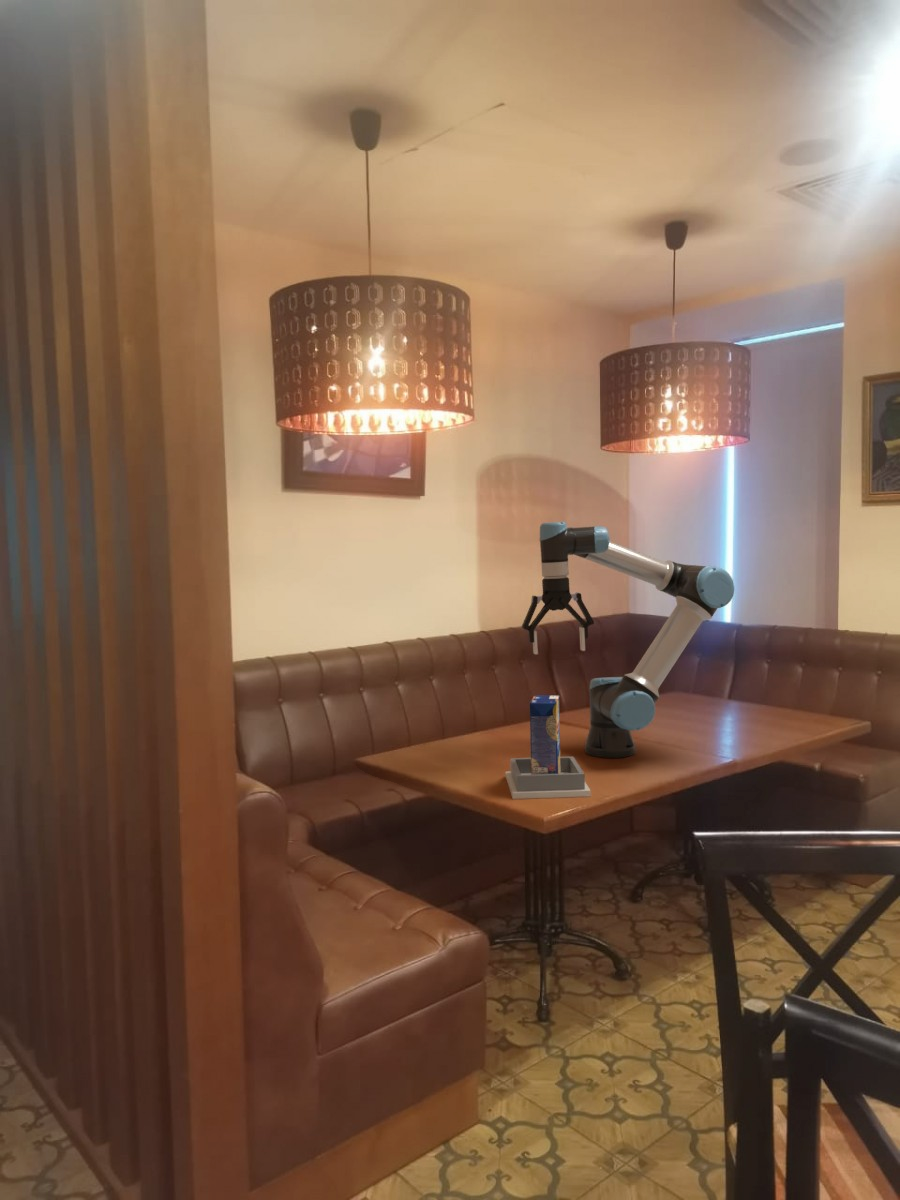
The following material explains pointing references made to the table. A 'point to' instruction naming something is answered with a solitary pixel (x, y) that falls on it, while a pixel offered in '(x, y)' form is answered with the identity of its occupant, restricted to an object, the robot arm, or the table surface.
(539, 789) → the holder
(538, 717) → the beverage box
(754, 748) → the table surface
